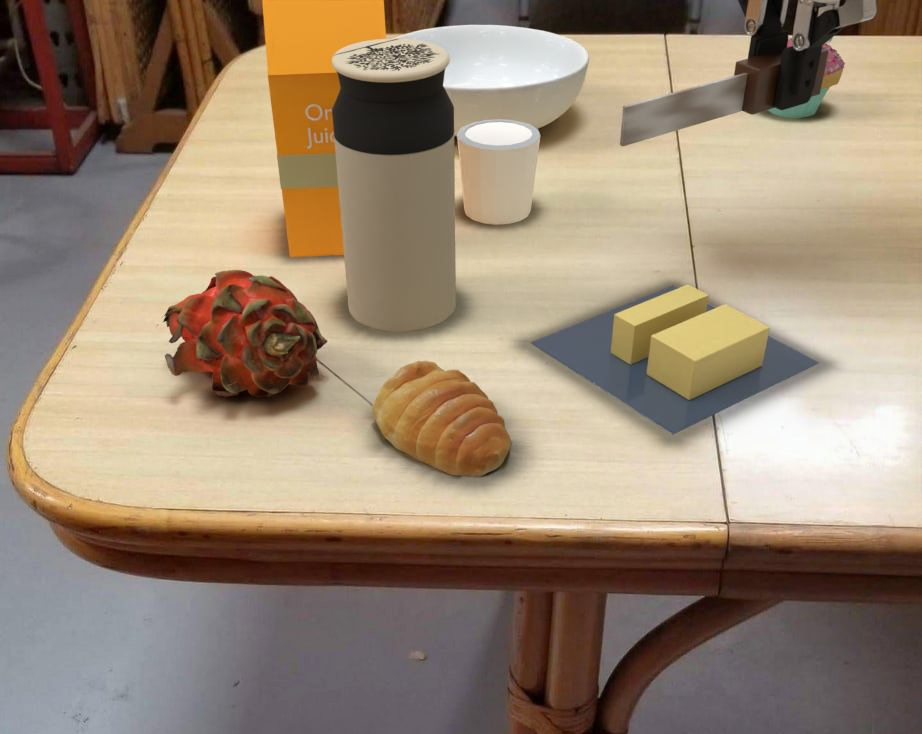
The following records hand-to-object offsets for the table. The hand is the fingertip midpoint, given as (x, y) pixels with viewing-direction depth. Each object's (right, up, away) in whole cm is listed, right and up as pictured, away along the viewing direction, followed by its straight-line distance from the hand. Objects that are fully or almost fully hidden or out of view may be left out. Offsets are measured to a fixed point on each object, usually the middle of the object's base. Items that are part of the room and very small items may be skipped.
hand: (776, 97), depth 76 cm
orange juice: (-32, -6, +13) cm, 35 cm away
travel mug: (-27, -14, +4) cm, 31 cm away
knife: (-5, -2, -2) cm, 6 cm away
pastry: (-23, -25, -8) cm, 35 cm away
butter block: (-6, -20, -4) cm, 21 cm away
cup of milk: (-19, -3, +17) cm, 26 cm away
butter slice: (-9, -18, -1) cm, 20 cm away
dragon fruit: (-37, -21, -3) cm, 42 cm away
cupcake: (+12, +13, +35) cm, 39 cm away
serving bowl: (-20, +11, +33) cm, 40 cm away
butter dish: (-8, -19, -1) cm, 20 cm away
